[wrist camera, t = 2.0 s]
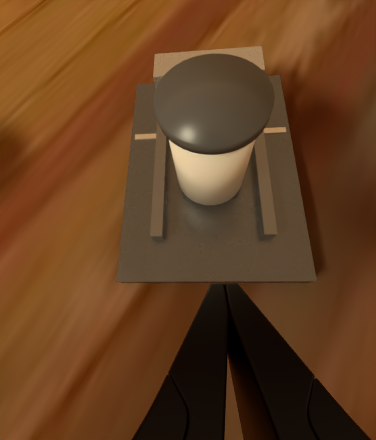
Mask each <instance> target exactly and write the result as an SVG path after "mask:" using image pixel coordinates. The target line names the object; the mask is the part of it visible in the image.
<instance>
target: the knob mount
mask: <svg viewBox="0 0 376 440" xmlns="http://www.w3.org/2000/svg"><path fill="white" fill-rule="evenodd" d="M216 53H219V54H229V55H234V56H238V57H241V58H244V59H246V60H248V61H250V62H252V63H254V64H255V65H257V66H258V67H259V68H260V69H262V70H263V71H265V66H264V60H263V53H262V47H261V46H257V47H244V48H230V49H217V50H204V51H190V52H177V53H163V54H155V61H154V74H153V78H154V82H155V83H146V84H137V90H136V100H135V109H134V119H133V128H132V138H131V147H130V157H129V166H128V176H127V185H126V195H125V204H124V214H123V223H122V233H121V242H120V252H119V261H118V271H117V280H116V282H120V283H310V282H315V281H317V279H316V274H315V268H314V262H313V257H312V251H311V246H310V240H309V235H308V229H307V223H306V218H305V212H304V207H303V201H302V196H301V190H300V184H299V179H298V173H297V168H296V162H295V157H294V151H293V145H292V140H291V134H290V129H289V123H288V117H287V112H286V106H285V101H284V95H283V90H282V84H281V78H280V75H269V76H268V78H269V79H270V81H271V83H272V86H273V89H274V96H275V99H274V106H273V109H272V112H271V115H270V118H269V121H268V123H267V125H266V127H265V129H264V130H263V132H262V133H261V134H260V135H259V136H258V137H257V138H256V139H255V143H254V146H253V149H252V152H251V156H250V159H249V162H248V165H247V169H246V172H245V175H244V178H243V182H242V185H241V187H240V189H239V191H238V192H237V194H236V195H235V196H234V197H233V198H231V199H230V200H228V201H226V202H224V203H222V204H218V205H202V204H199V203H196V202H194V201H192V200H190V199H189V198H188V197H187V196H186V195H185V194H184V193H183V192H182V190H181V188H180V185H179V182H178V178H177V173H176V169H175V165H174V160H173V156H172V152H171V147H170V143H169V139H168V138H167V137H166V136H165V135H164V133H163V132H162V130H161V128H160V127H159V124H158V121H157V117H156V114H155V110H154V93H155V90H156V87H157V85H158V83H159V81H160V80H161V79H162V77H163V76H164V75H165V74H166V73H167V72H168V71H169V70H170V69H171V68H172V67H174V66H175V65H177V64H179V63H180V62H182V61H184V60H187V59H189V58H192V57H195V56H199V55H204V54H216Z"/></svg>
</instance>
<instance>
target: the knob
mask: <svg viewBox="0 0 376 440" xmlns="http://www.w3.org/2000/svg"><path fill="white" fill-rule="evenodd" d="M274 99H275V96H274V89H273V86H272V83H271V81H270V79H269V78H268V76H267V75H266V74H265V72H264V71H263V70H262V69H260V68H259V67H258V66H257V65H255V64H254V63H252V62H250V61H248V60H246V59H244V58H241V57H238V56H234V55H229V54H219V53H216V54H204V55H199V56H195V57H192V58H189V59H187V60H184V61H182V62H180V63H179V64H177V65H175V66H174V67H172V68H171V69H170V70H169V71H168V72H167V73H166V74H165V75H164V76H163V77H162V79H161V80H160V81H159V83H158V85H157V87H156V90H155V93H154V110H155V114H156V117H157V121H158V124H159V127H160V128H161V130H162V132H163V133H164V135H165V136H166V137H167V138H168V139H169V143H170V147H171V152H172V156H173V160H174V165H175V169H176V173H177V178H178V182H179V185H180V188H181V190H182V192H183V193H184V194H185V195H186V196H187V197H188V198H189V199H190V200H192V201H194V202H196V203H199V204H202V205H218V204H222V203H224V202H226V201H228V200H230V199H231V198H233V197H234V196H235V195H236V194H237V192H238V191H239V189H240V187H241V185H242V182H243V178H244V175H245V172H246V169H247V165H248V162H249V159H250V156H251V152H252V149H253V146H254V143H255V139H256V138H257V137H258V136H259V135H260V134H261V133H262V132H263V130H264V129H265V127H266V125H267V123H268V121H269V118H270V115H271V112H272V109H273V106H274Z"/></svg>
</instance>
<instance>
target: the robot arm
mask: <svg viewBox="0 0 376 440" xmlns="http://www.w3.org/2000/svg"><path fill="white" fill-rule="evenodd" d="M227 355H228V359H229V365H230V370H231V375H232V381H233V386H234V391H235V396H236V401H237V407H238V412H239V417H240V422H241V427H242V433H243V438H244V440H371V439H370V438H369V437H368V436H367V435H366V434H365V433H364V432H363V430H362V429H361V428H360V427H359V426H358V425H357V424H356V423H355V422H354V421H353V420H352V419H351V417H350V416H349V415H348V414H347V413H346V412H345V411H344V409H343V408H342V407H341V406H340V405H339V404H338V403H337V401H336V400H335V399H334V398H333V397H332V396H331V395H330V393H329V392H328V391H327V390H326V389H325V387H324V386H323V385H322V384H321V383H320V381H319V380H318V379H317V378H315V379H314V377H315V376H314V374H313V373H312V372H311V371H310V370H309V368H308V367H307V366H306V365H305V364H304V362H303V361H302V360H301V359H300V358H299V356H298V355H297V354H296V353H295V352H294V350H293V349H292V348H291V347H290V346H289V344H288V343H287V342H286V341H285V340H284V338H283V337H282V336H281V335H280V334H279V332H278V331H277V330H276V329H275V328H274V327H273V325H272V324H271V323H270V322H269V321H268V319H267V318H266V317H265V316H264V315H263V313H262V312H261V311H260V310H259V309H258V307H257V306H256V305H255V304H254V303H253V301H252V300H251V299H250V298H249V297H248V295H247V294H246V293H245V292H244V291H243V289H242V288H241V287H240V286H239V285H238V284H237V283H225V285H224V284H223V283H212V284H211V285H210V287H209V289H208V291H207V293H206V295H205V298H204V300H203V302H202V304H201V306H200V308H199V310H198V312H197V314H196V316H195V318H194V320H193V322H192V324H191V326H190V328H189V330H188V333H187V335H186V337H185V339H184V341H183V343H182V345H181V347H180V349H179V351H178V353H177V355H176V357H175V359H174V361H173V363H172V366H171V368H170V370H169V372H168V374H169V375H167V376H166V378H165V380H164V382H163V384H162V386H161V388H160V390H159V392H158V394H157V396H156V397H155V399H154V401H153V403H152V405H151V407H150V409H149V411H148V413H147V414H146V416H145V418H144V420H143V421H142V423H141V425H140V426H139V428H138V430H137V431H136V433H135V435H134V436H133V438H132V440H224V434H225V408H226V382H227Z"/></svg>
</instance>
